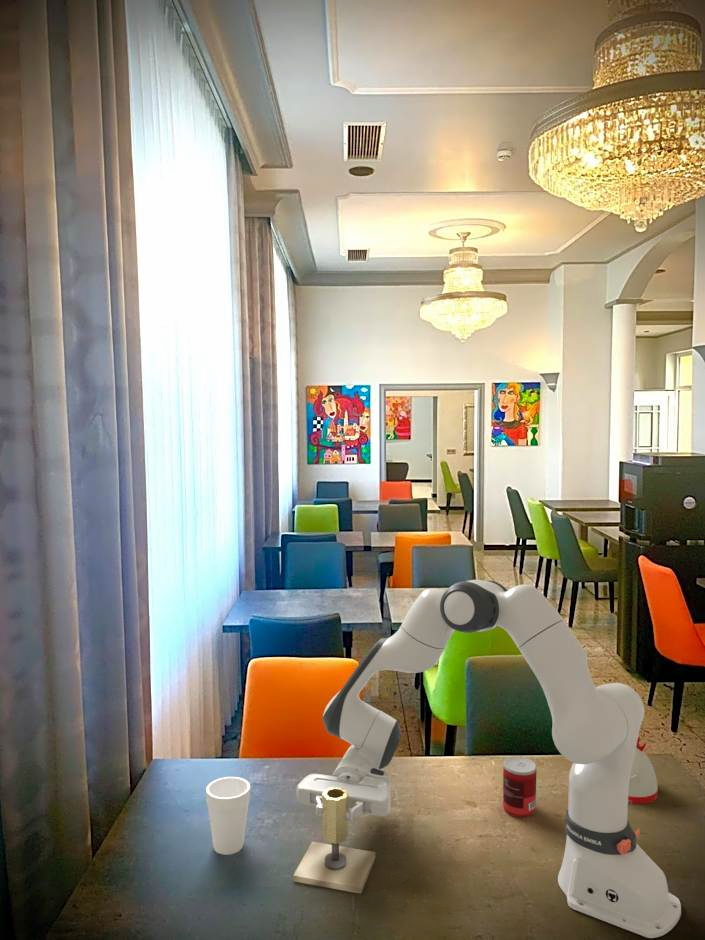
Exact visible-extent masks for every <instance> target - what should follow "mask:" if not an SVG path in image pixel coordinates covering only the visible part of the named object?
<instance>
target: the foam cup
mask: <svg viewBox="0 0 705 940" xmlns="http://www.w3.org/2000/svg"><path fill="white" fill-rule="evenodd" d="M205 792H206V794H205V801H206V802H205V803H206V804H207V811H208V818H209V824H210V825H209V826H210V831H211V832H210V834H211V837H212V838H211V840H212V846H213V850H214V852H216V853H217V854H220V855H225V856H226V855H228V856H229V855H234V854H237V853H238V852H240V851H241V850H242V848H243V847H244V842H245V837H246V836H245V835H246V827H247V819H248V812H249V804H250V800H251V784H250V782H249V780H247V779H246V778H243V777H238V776H225V777H224V776H223V777H220V778H216V779H215V780H213V781H211V782H209V784H208V785H207V786H206V790H205Z"/></svg>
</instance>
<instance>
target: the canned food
mask: <svg viewBox="0 0 705 940" xmlns="http://www.w3.org/2000/svg"><path fill="white" fill-rule="evenodd" d="M537 770H538V769H537V764H536V763H535V762H534V761H532V760H531V759H529V758H526V757H521V756H520V757H519V756H513V757H508V758H506V759H504V762H503V770H502V771H503V773H502V778H503V779H502V806H503V807H502V808H503V810H504V812H506V813H507V814H508V815H510V816H512V817H515V818H522V819H525V818H528V817H529V818H530V817H531V816H533V815H534V813H535V812H536V805H537V803H536V802H537Z"/></svg>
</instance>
